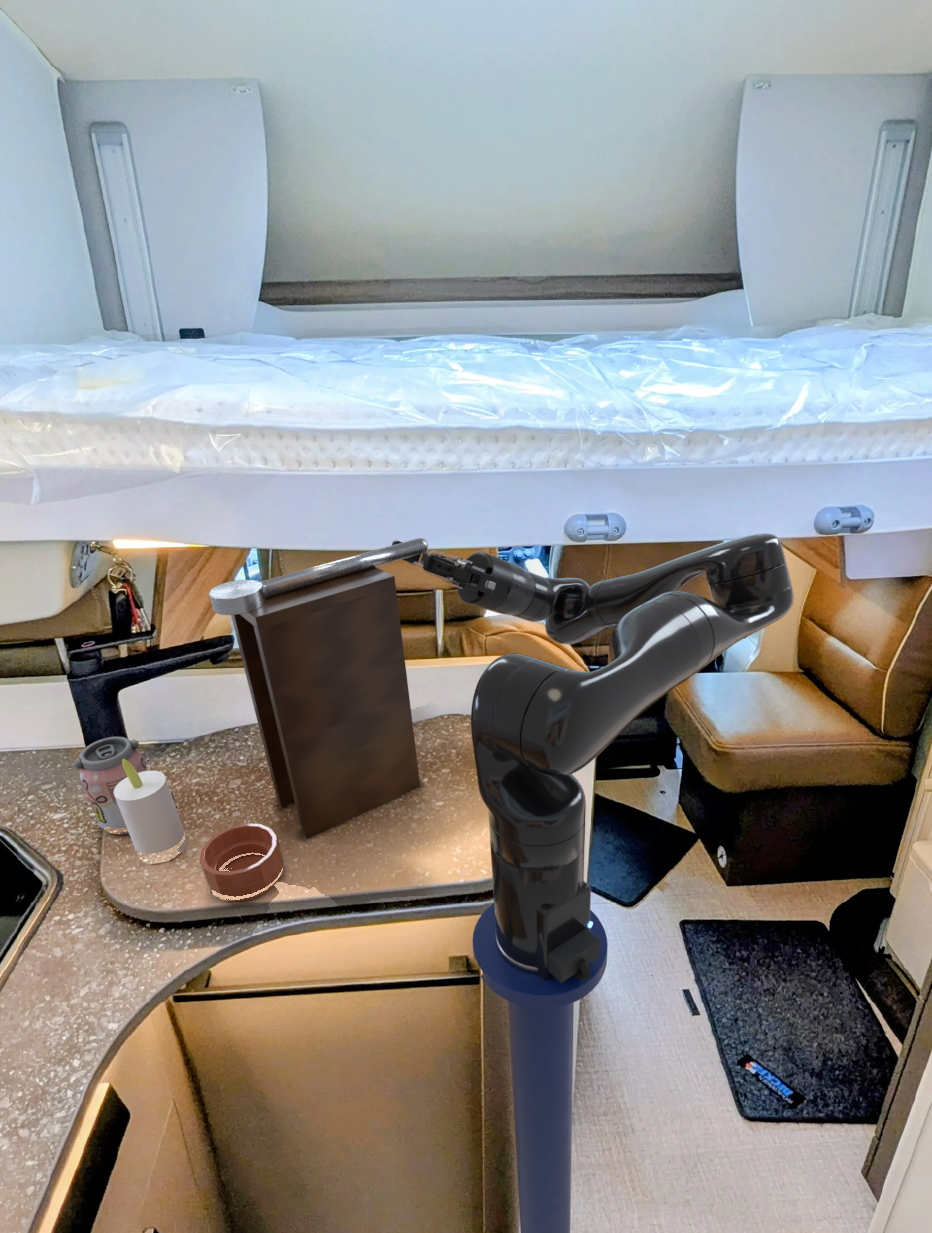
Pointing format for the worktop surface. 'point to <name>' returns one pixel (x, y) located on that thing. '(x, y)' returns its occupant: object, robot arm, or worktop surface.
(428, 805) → the worktop surface
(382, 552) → the ladle
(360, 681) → the shelf
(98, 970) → the worktop surface
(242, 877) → the bowl
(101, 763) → the beverage can
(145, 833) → the candle
